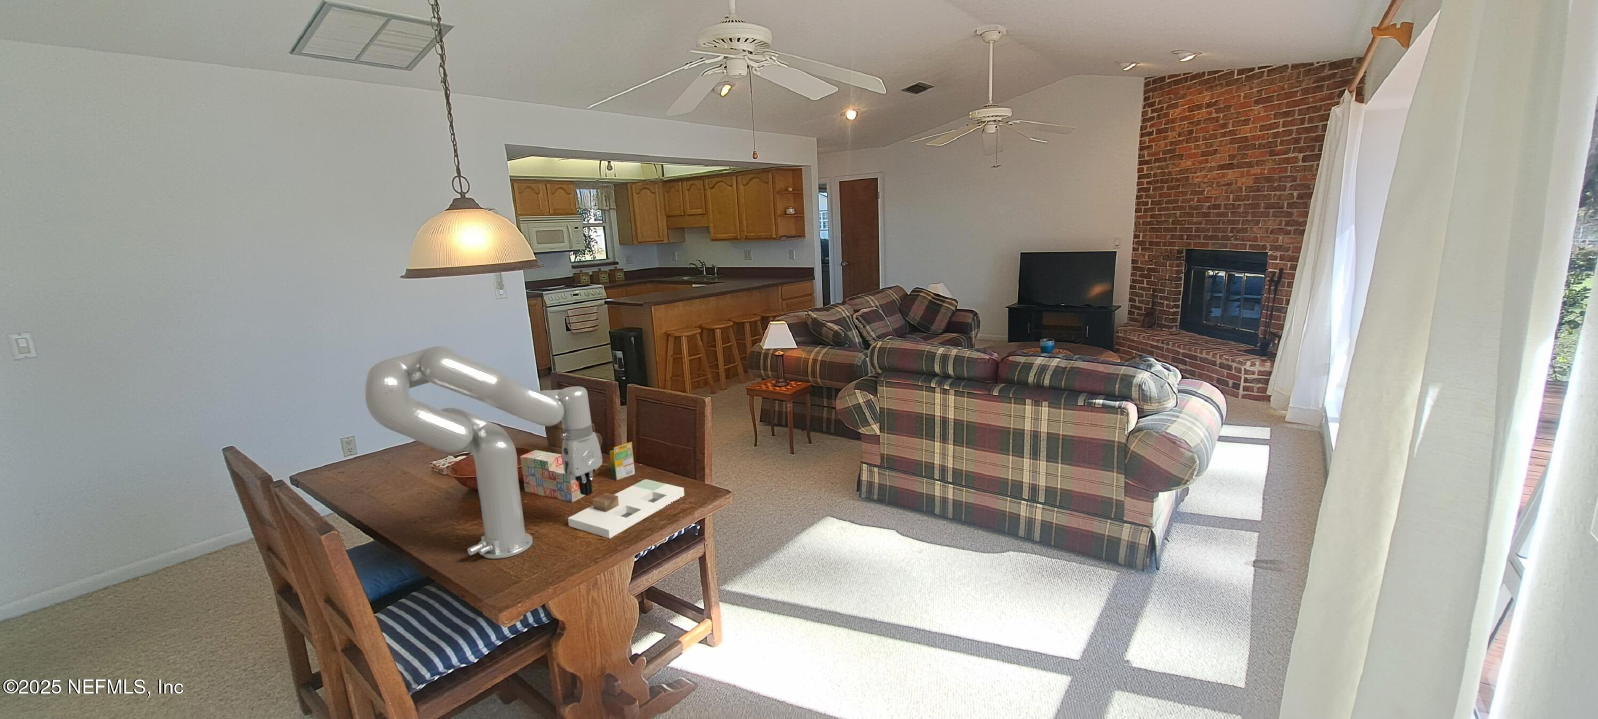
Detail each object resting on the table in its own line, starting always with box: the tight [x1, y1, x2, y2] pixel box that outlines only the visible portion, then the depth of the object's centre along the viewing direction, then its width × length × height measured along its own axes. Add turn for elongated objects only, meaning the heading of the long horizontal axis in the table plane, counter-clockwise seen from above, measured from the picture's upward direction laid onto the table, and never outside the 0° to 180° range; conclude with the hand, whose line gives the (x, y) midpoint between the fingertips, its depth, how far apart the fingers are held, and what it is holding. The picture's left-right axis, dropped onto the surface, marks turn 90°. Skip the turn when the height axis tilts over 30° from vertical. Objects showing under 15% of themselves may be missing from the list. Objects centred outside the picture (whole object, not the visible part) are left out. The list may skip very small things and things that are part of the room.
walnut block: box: [592, 492, 619, 512], centre depth 182 cm, size 5×5×3 cm
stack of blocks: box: [520, 449, 586, 503], centre depth 198 cm, size 21×6×12 cm, turn 63°
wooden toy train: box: [544, 420, 603, 455], centre depth 233 cm, size 20×11×17 cm, turn 151°
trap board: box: [567, 478, 685, 539], centre depth 186 cm, size 31×16×2 cm, turn 150°
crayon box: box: [609, 441, 636, 481], centre depth 211 cm, size 7×3×12 cm, turn 139°
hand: (586, 493), depth 175 cm, fingers closed
